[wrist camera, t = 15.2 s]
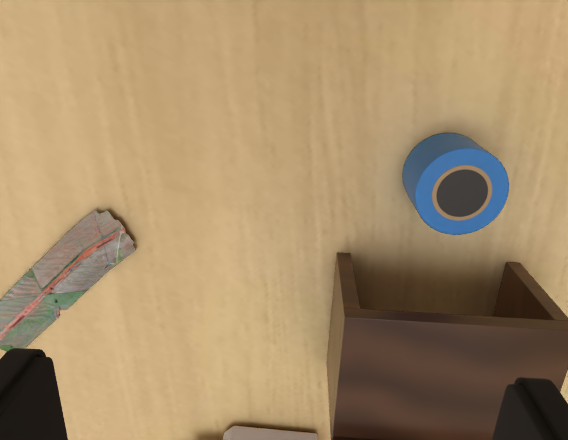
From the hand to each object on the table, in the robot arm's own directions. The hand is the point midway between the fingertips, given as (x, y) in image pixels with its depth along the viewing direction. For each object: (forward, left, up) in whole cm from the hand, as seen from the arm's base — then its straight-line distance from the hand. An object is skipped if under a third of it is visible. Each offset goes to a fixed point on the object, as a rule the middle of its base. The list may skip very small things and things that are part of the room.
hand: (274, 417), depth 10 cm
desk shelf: (+17, +12, -30) cm, 37 cm away
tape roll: (+3, +12, -30) cm, 33 cm away
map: (+16, -22, -30) cm, 41 cm away
